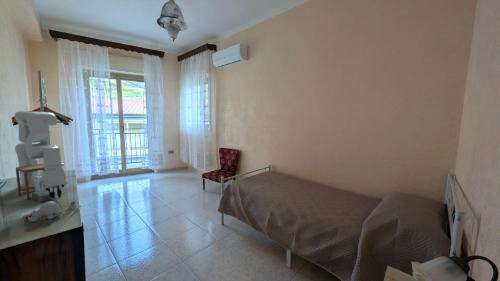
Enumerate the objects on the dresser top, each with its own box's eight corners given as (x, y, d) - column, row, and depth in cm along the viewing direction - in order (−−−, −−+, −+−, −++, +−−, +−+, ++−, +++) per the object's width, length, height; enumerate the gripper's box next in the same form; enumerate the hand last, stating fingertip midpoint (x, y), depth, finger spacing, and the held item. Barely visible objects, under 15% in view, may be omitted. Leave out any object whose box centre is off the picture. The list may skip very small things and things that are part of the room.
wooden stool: (18, 195, 138) (15, 167, 136) (46, 189, 151) (44, 163, 149) (27, 199, 132) (24, 170, 130) (56, 192, 144) (53, 165, 142)
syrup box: (40, 200, 132) (37, 177, 130) (35, 198, 134) (33, 175, 133) (52, 196, 137) (49, 174, 135) (47, 195, 140) (45, 173, 138)
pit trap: (16, 191, 145) (16, 189, 145) (36, 187, 154) (36, 185, 154) (22, 194, 140) (22, 192, 140) (42, 189, 149) (42, 187, 149)
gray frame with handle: (31, 198, 133) (30, 182, 132) (53, 193, 142) (51, 178, 141) (45, 204, 124) (44, 187, 123) (67, 198, 134) (66, 183, 132)
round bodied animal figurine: (36, 223, 109) (25, 210, 107) (64, 209, 115) (54, 196, 113) (33, 229, 104) (22, 215, 101) (62, 214, 110) (52, 200, 107)
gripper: (66, 163, 136) (68, 191, 138) (32, 169, 122) (35, 200, 124) (72, 165, 132) (74, 194, 135) (37, 171, 118) (40, 203, 120)
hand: (55, 196), depth 129 cm, fingers closed on gray frame with handle, 2 cm apart
